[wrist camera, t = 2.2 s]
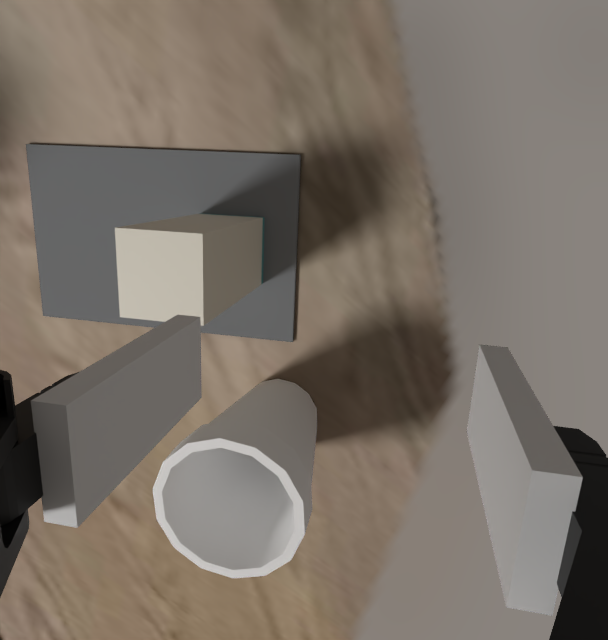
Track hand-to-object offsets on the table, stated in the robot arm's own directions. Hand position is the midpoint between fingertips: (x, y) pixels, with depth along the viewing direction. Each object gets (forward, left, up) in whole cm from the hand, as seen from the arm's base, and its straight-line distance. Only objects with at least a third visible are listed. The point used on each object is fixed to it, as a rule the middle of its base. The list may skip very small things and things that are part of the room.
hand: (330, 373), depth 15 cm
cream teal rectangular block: (-11, 0, -23) cm, 26 cm away
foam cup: (-7, -13, -24) cm, 28 cm away
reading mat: (-17, 0, -23) cm, 29 cm away
